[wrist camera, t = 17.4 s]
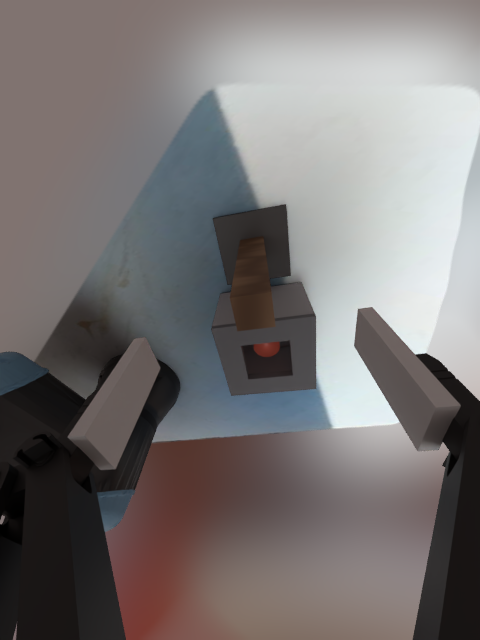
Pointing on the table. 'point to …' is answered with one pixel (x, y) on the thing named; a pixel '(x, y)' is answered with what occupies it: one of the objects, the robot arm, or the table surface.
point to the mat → (250, 226)
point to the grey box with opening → (291, 332)
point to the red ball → (267, 349)
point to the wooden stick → (252, 287)
